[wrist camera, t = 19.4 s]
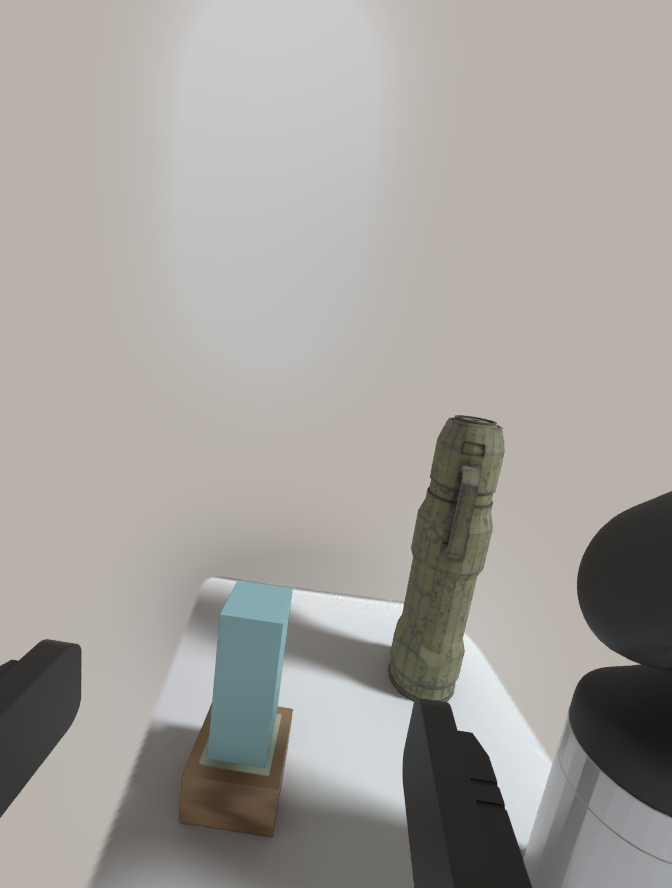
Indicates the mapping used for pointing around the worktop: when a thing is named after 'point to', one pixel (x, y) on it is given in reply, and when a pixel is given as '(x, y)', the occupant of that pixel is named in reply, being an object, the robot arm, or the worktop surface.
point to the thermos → (447, 558)
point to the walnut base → (234, 785)
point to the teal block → (248, 673)
